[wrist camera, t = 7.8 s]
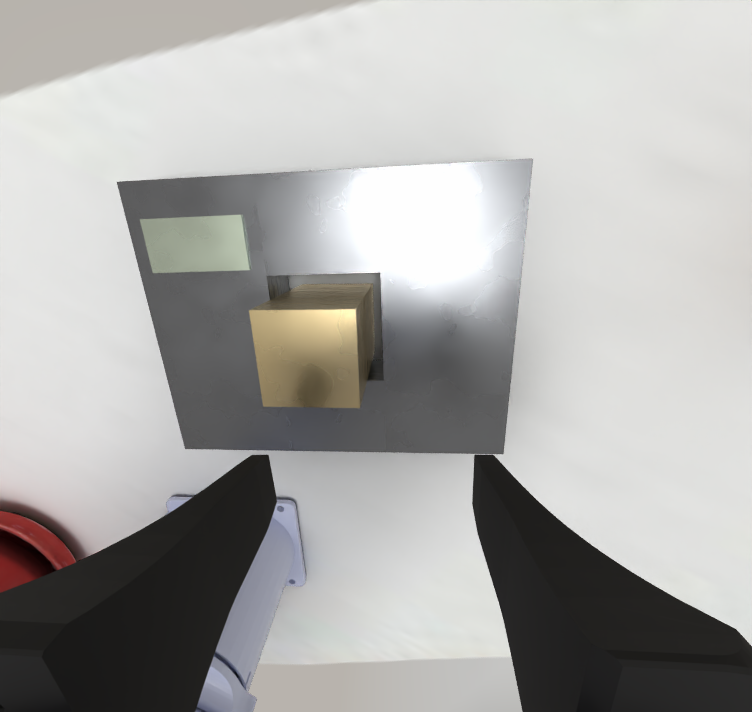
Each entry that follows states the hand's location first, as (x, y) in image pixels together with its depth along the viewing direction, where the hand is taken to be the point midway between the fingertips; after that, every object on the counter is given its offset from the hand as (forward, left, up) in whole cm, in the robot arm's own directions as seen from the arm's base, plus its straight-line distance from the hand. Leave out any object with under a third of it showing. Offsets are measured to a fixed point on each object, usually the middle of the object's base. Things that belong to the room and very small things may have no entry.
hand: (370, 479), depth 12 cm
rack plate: (-3, +4, -9) cm, 10 cm away
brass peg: (-3, +4, -9) cm, 10 cm away
